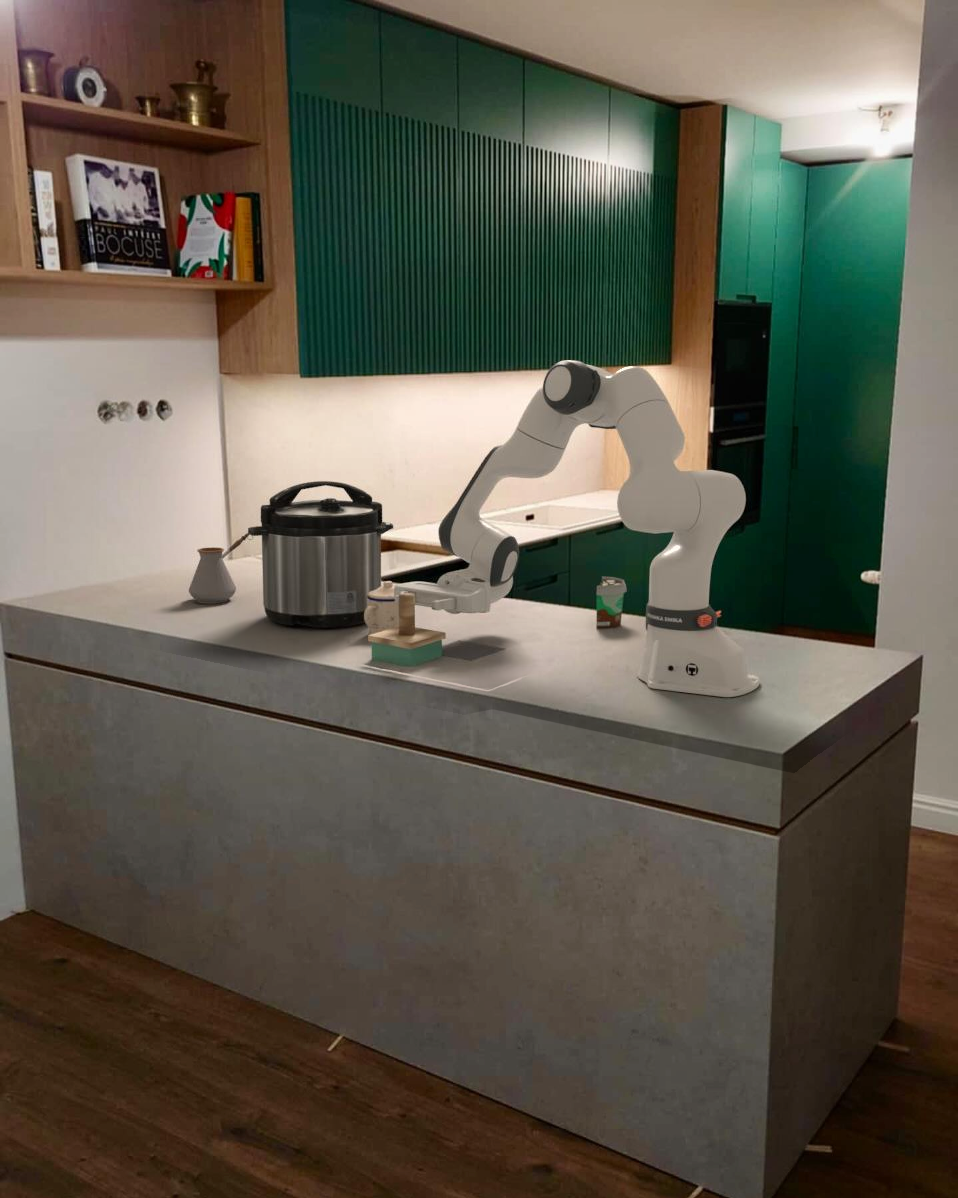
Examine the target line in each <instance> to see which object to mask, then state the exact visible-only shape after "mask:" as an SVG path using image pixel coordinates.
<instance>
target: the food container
mask: <svg viewBox="0 0 958 1198" xmlns="http://www.w3.org/2000/svg"><path fill="white" fill-rule="evenodd" d="M627 590H628V589H627V584H626V583H625V580H624V579H622V578H618V577H614V576H601V582H600V583H599V585H597V586H596V630H609V629H610V630H611V629H616V628H619V627H621V624H622V614H623V604H624V595H625V593H626V592H628V591H627Z"/></svg>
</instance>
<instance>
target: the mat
mask: <svg viewBox="0 0 958 1198" xmlns="http://www.w3.org/2000/svg"><path fill="white" fill-rule="evenodd" d="M504 650H506V648H504V647H499V646H495V645H494V646H493V645H487V644H482V643H476V642H471V641H465V640H457V641H453V642H451V643H447V644H443V645H442V657H443V656H444V657H450V658H454V659H458V660H459V659H460V660H465V661H470V662H471V661H475V660H478V659H481V658H484V657H488V656H489V655H493V654H495V653H498V652H500V651H504Z"/></svg>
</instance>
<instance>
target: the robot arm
mask: <svg viewBox="0 0 958 1198" xmlns="http://www.w3.org/2000/svg"><path fill="white" fill-rule="evenodd" d="M583 424H587V425H588V426H589V427H590V428H596V429H604V430H616V432H617V434H618V436H619V439H620V440H621V443H622V445H623V448H624V451H625V453H626V456H627V459H628V461H629V466H630V467H629V475H628V478H627V479H626V480H625V481H624V483H623V484H622V486H621V487H620V490H619V492H618V495H617V501H616V505H617V507H616V508H617V512H618V516H619V517H620V519H621V522H622V523H623V524H624V526H625V527H626V528H627V529H629V530H631V531H636V532H641V533H648V534H664V533H666V534H667V533H673V534H672V537H671V539H670V542H669V543H668V544H667V546H666V547H665V548H664V549H663V550H662V551H661V552H659V553H658V554H657V555H656V556H655V557H654V558H653V559H652V560H651V563H650V566H649V578H648V579H649V584H648V588H649V589H648V602H647V603H646V610H645V631H646V636H645V645H644V651H643V656H642V661H641V664H640V668H639V671H638V673H637V677H638V678H639V679H640V680H641V681H643V682H644V683H646V685H647V687H648V688H649V689H654V690H663V691H670V692H681V693H688V694H689V693H690V694H696V695H703V696H710V697H711V696H713V697H722V698H733V697H738V696H743V695H747V694H748V693H750V692H752V691H754V690H756V689H757V688H758V687H759V686H760V678H759V677H758V676H757V675H754V674H749V669H748V661H747V656H746V653H745V650H744V649H743V647H741V646H740V645H738V644H737V643H736V642H735V641H734V640H732V639H731V638H730V637H729V636H728V635H727V634H726V633H725V632H723V630H721V629H720V628H719V627H718V626H717V625H718V618H720V617H722V615H721V613H722V610H718V611H715V610H714V609H713V608H712V607H711V605H710V604H709V602H710V601H709V600H710V587H711V585H710V584H711V573H712V565H713V562H714V558H715V555H716V552H717V550H718V547H719V545H720V543H721V541H722V540H723V538H724V536H725V534H726V533H727V531H728V530H729V529H730V528H731V527H732V526H733V525H734V524H735V523H736V522H737V521H738V520H739V519H740V518H741V516H742V515H743V513H744V510H745V507H746V502H747V501H746V500H747V498H746V491H745V488H744V485H743V484H742V481H741V480H740V479H739V477H737V476H736V475H735V474H733V473H729V472H725V471H720V470H714V469H702V470H701V469H700V470H699V469H698V470H684V471H683V470H680V469H679V468H678V467H677V466H676V464H675V461H676V460H677V459H678V458H679V457H680V456H681V454H682V452H683V450H684V446H685V433H684V431H683V430H682V428H681V425H680V423H679V421H678V419H677V417H676V415H675V412H674V411H673V409H672V407H671V404H670V402H669V400H668V399H667V397H666V395H665V393H664V391H663V389H662V388H661V387H660V385H659V384H658V383H657V381H656V380H655V378H654V377H653V376H652V374H650V373H649V371H648V370H647V369H644V368H643V367H640V366H636V365H635V366H633V365H631V366H626V367H623V368H621V369H619V370H617V371H616V372H614V373H611V372H609V371H607V370H605V369H604V368H600V367H598V366H594V365H590V364H586V363H584V362H582V361H579V360H569V359H567V360H561V361H558V362H557V363H554V364H553V365H552V366H551V367H550V368H549V369H548V371H547V372H546V375H545V377H544V380H543V384H542V386H541V387H540V388H539V389H537V391H536V392H535V393H534V394H533V396H532V398H531V399H530V401H529V403H528V405H527V406H526V408H525V409H524V411H523V413H522V415H521V418H520V419H519V421H518V423H517V426H516V427H515V429H514V432H513V433H512V435H511V437H509V439H508V440H506V442H505V443H503V444H500V445H495V446H494V447H493V448H491V450H490V451H489V452H488V454H487V455H486V456H485V457H484V459H483V460H482V461H481V463H480V465H479V466H478V468H477V469H476V471H475V472H474V474H473V476H472V477H471V478H470V481H469V482H468V484H467V486H466V487H465V488H464V490H463V492H461V495H460V497H459V498H458V500H457V501H456V502H455V504H454V506H452V508H451V509H450V510H449V512H448V513H447V514H446V515H445V516H444V518H443V519H442V520H441V522H440V524H439V526H438V539H439V543H440V546H441V548H442V550H443V551H444V552H446V553H449V554H451V555H452V556H455V557H457V558H460V559H462V560H463V561H465V562H466V563H468V564H469V565H468V567H466V568H464V569H459V570H454V571H449V572H446V573H444V574H442V575H441V576H440V577H439V578H438V580H437V582H436V583H435V582H429V581H428V582H427V581H417V580H416V581H410V582H403V583H399V584H395V585H394V586H395V588H394V598H395V604H399V596H398V595H399V594H402V593H412V594H415V606H420V607H424V608H425V607H426V608H431V610H434V611H442V610H444V612H447V613H449V614H452V615H459V614H477V613H478V614H479V613H480V614H486V613H488V612H491V604H494V603H496V602H498V601H500V600H502V599H503V598H504V597H506V596H507V595H508V594H509V592H510V591H511V589H512V587H513V584H514V577H513V576H514V574H515V572H516V570H517V568H518V565H519V561H520V549H519V548H520V547H519V543H518V541H517V538H516V537H514V536H513V535H511V534H510V533H509V532H506V531H504V530H503V529H501V528H500V527H498V526H495V525H494V524H492V523H490V522H488V521H486V520H485V519H483V518H482V517H481V516H480V510H481V509H482V507H483V506H484V504H485V503H486V501H487V500H488V498H489V496H490V495H491V494H492V492H493V491H494V488H496V486H497V484H498V483H499V482H501V481H502V480H503V479H506V478H520V479H538V478H539V479H540V478H542V477H545V476H549V474H551V473H552V472H554V470H556V468H557V466H558V465H559V463H560V462H561V460H562V458H563V455H564V453H565V451H566V448H567V446H568V444H569V441H570V439H571V436H572V434H573V432H574V431H575V429H576V428H577V427H579V426H580V425H583Z"/></svg>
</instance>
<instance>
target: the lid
mask: <svg viewBox="0 0 958 1198" xmlns="http://www.w3.org/2000/svg"><path fill="white" fill-rule="evenodd" d="M398 596H399V627H396V628H392V629H389V630H385V631H382V632H378V633H374V634H371V635H370V634H368V635H367V641H368V642H369V643H371V642H375V643H380V644H386V645H391V646H396V647H402V648H407V649H413V648H417V647H420V646H423V645H426V644H429V643H433V642H436V641H439V640H442V641H443V640H445V639H446V637H447V635H446V633H447V632H445V631H439V630H433V629H427V628H421V627H417V626H416V609H415V608H416V605H415V594H412V593H402V594H399V595H398Z"/></svg>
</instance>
